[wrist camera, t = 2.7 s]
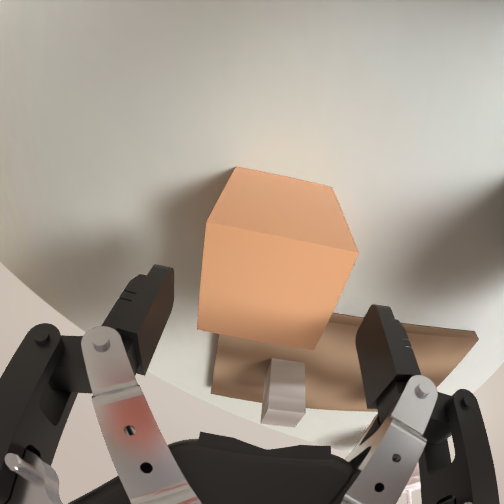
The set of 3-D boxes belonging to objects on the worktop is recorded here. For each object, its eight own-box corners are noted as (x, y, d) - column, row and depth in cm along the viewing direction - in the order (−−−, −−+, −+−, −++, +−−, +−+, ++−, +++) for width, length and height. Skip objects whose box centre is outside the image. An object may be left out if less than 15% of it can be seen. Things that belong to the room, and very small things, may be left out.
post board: (226, 293, 20) (209, 357, 15) (474, 331, 20) (496, 378, 15) (212, 385, 26) (201, 434, 22) (410, 403, 26) (419, 444, 22)
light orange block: (235, 166, 15) (206, 221, 10) (331, 187, 15) (358, 253, 10) (223, 249, 18) (196, 329, 12) (307, 266, 18) (313, 350, 12)
